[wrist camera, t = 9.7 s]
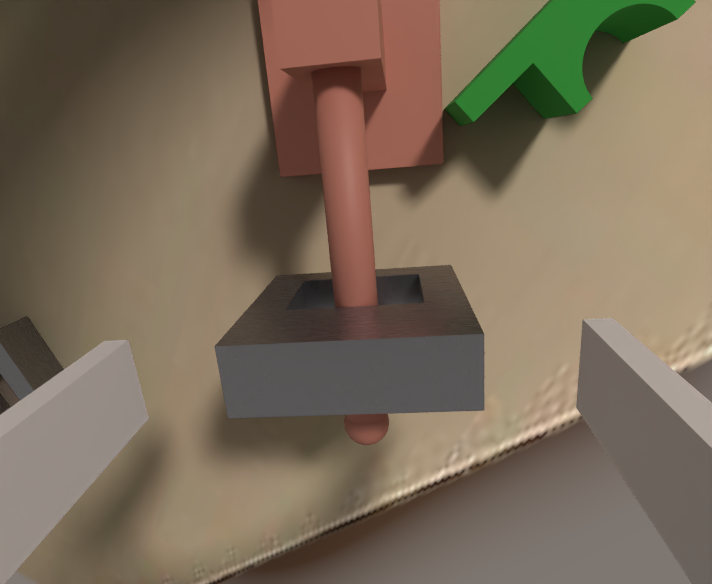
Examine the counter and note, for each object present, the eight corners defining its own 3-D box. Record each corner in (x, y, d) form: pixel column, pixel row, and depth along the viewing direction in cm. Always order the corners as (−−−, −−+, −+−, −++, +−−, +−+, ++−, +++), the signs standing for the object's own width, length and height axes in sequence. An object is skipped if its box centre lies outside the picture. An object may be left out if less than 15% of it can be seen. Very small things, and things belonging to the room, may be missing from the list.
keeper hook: (256, -51, 21) (152, -195, 12) (435, -75, 20) (465, -249, 11) (307, 359, 27) (263, 466, 18) (446, 353, 26) (473, 462, 17)
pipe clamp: (494, 165, 23) (516, 170, 19) (443, 109, 23) (453, 101, 18) (695, -26, 20) (776, -72, 16) (642, -96, 20) (710, -164, 15)
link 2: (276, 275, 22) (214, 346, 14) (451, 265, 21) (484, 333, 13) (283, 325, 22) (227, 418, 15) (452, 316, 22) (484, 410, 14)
